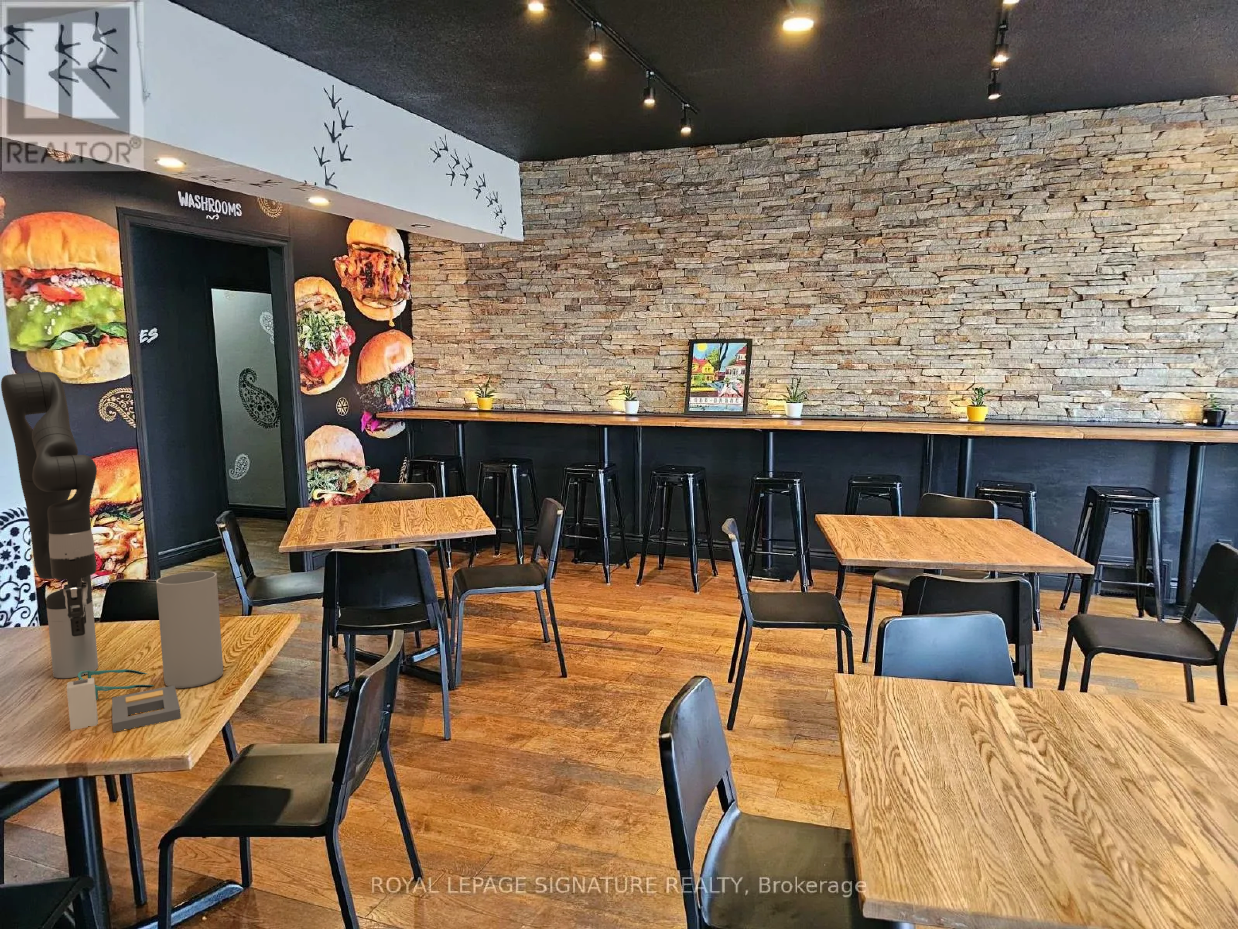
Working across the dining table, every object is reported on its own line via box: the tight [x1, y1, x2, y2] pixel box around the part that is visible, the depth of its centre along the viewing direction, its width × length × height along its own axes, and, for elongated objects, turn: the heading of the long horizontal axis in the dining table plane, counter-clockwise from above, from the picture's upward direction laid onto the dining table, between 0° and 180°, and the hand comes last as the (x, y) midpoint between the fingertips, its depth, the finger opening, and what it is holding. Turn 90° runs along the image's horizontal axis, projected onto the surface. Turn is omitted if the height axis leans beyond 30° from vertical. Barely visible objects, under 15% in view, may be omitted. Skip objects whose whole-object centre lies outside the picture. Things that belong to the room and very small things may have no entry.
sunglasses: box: [77, 668, 155, 701], centre depth 181 cm, size 14×15×5 cm
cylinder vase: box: [155, 570, 224, 689], centre depth 184 cm, size 12×12×25 cm
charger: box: [66, 677, 99, 731], centre depth 161 cm, size 4×5×9 cm
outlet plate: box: [111, 685, 182, 733], centre depth 167 cm, size 16×12×2 cm
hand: (79, 629), depth 159 cm, fingers open, 8 cm apart
